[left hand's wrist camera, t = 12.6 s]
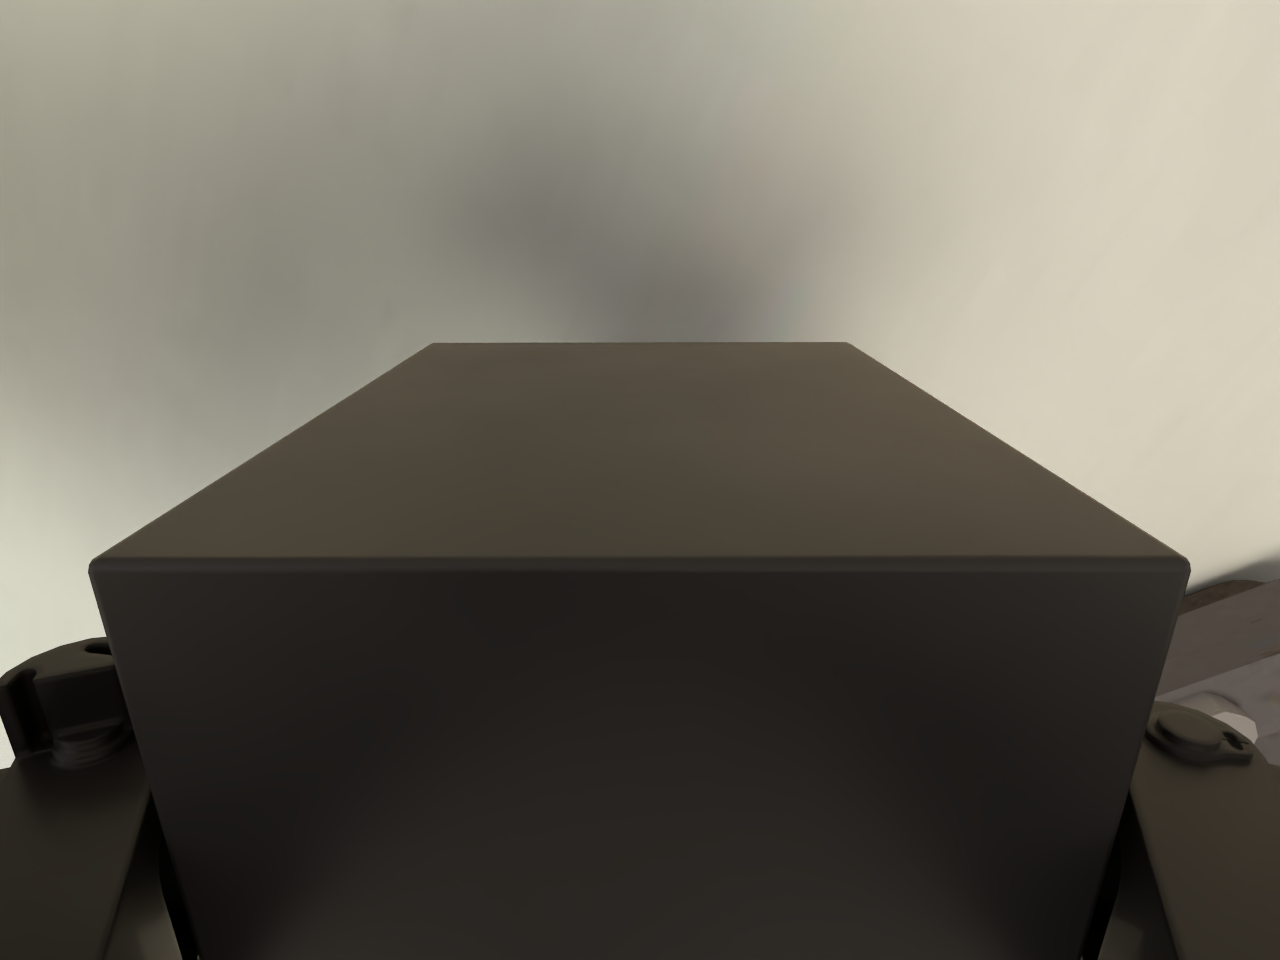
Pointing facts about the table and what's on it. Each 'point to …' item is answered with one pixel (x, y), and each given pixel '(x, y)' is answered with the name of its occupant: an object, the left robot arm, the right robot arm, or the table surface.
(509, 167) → the table surface
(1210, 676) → the toy
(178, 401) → the table surface
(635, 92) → the table surface
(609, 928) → the box
